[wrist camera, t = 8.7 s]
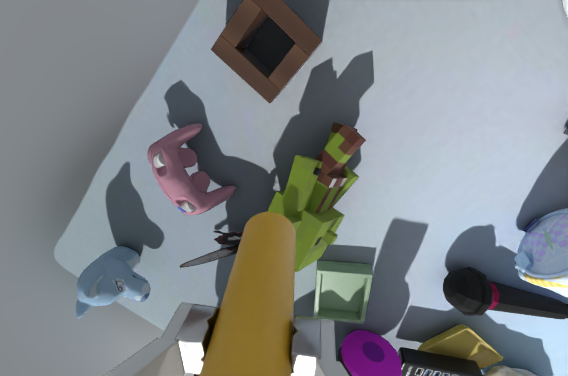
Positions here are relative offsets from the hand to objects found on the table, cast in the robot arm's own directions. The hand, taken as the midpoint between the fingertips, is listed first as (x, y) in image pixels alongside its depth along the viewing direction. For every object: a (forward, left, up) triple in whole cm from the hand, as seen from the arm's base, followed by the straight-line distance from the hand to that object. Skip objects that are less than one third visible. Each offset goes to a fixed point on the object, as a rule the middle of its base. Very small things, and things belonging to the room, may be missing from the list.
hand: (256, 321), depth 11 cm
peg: (0, 0, -6) cm, 6 cm away
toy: (+4, +2, -24) cm, 24 cm away
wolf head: (+19, -24, -24) cm, 38 cm away
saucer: (+30, +24, -23) cm, 45 cm away
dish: (+21, +7, -23) cm, 32 cm away
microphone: (+19, +28, -24) cm, 41 cm away
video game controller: (+3, -12, -24) cm, 27 cm away
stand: (-10, -3, -23) cm, 26 cm away
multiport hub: (+32, +21, -21) cm, 44 cm away
